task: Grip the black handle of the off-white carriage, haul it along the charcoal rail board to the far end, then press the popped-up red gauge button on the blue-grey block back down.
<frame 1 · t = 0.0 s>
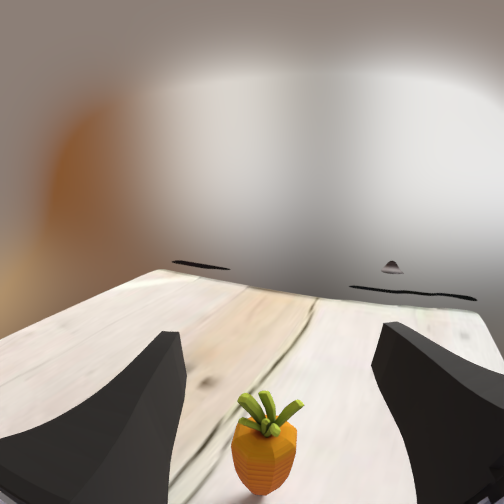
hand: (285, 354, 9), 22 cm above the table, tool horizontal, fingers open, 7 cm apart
carrot: (261, 493, 19), on the table
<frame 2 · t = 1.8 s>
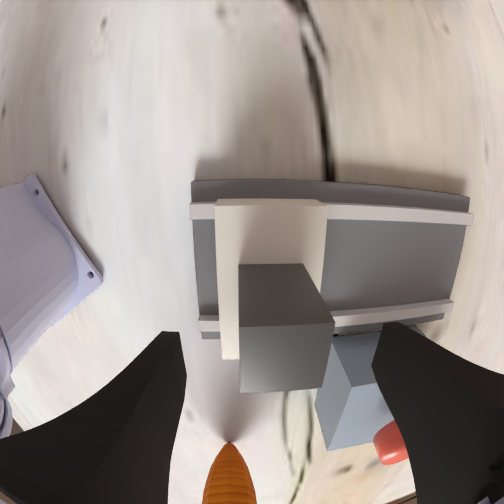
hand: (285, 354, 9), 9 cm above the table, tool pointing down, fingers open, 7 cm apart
carriage: (273, 308, 12), point 6 cm above the table, slide at 0.0 cm
gauge button: (401, 440, 13), point 8 cm above the table, slide at 1.5 cm
rail board: (347, 260, 17), on the table
blue-grey block: (365, 369, 21), on the table
carrot: (229, 441, 24), on the table
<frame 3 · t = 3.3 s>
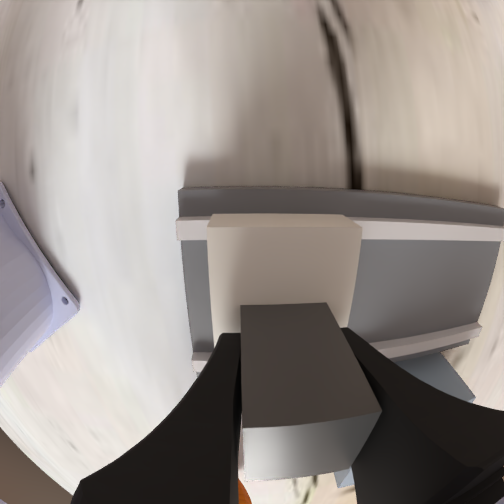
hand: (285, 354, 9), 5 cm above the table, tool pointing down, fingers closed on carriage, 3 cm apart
carriage: (287, 365, 9), point 6 cm above the table, slide at 0.0 cm, touching gripper
rail board: (372, 285, 14), on the table
blue-grey block: (382, 399, 17), on the table
carrot: (230, 470, 21), on the table
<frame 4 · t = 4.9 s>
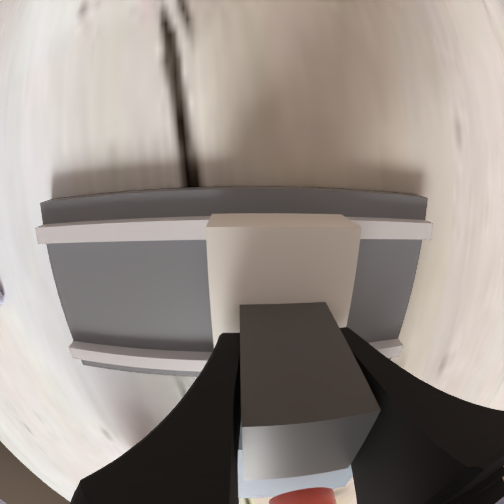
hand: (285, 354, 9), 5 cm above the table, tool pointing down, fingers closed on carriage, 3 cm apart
carriage: (286, 365, 9), point 5 cm above the table, slide at 7.4 cm, touching gripper
rail board: (230, 290, 14), on the table
blue-grey block: (286, 413, 17), on the table
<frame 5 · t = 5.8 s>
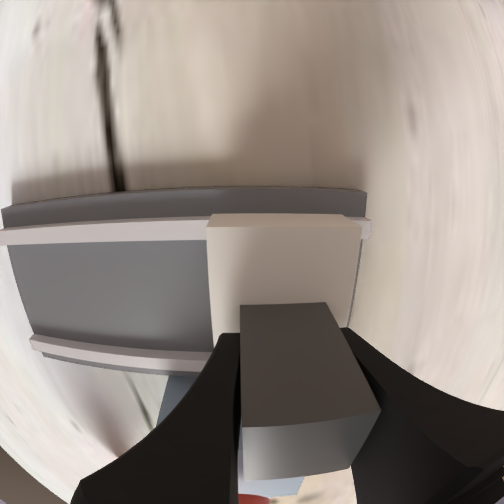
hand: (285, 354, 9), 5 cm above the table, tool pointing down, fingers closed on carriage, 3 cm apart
carriage: (287, 365, 9), point 6 cm above the table, slide at 11.0 cm, touching gripper
rail board: (160, 289, 14), on the table
blue-grey block: (236, 415, 17), on the table
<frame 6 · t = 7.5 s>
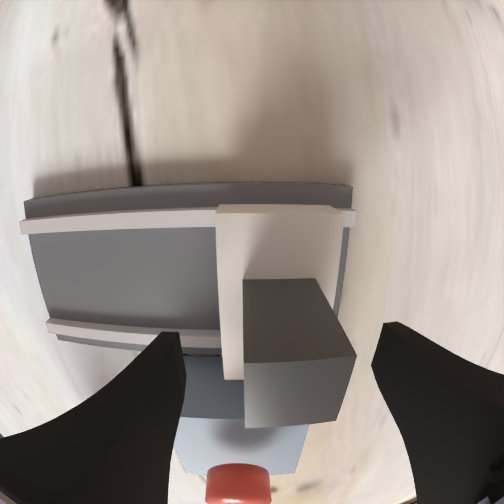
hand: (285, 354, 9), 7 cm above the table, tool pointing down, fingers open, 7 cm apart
carriage: (282, 330, 10), point 6 cm above the table, slide at 11.0 cm
gauge button: (238, 488, 11), point 8 cm above the table, slide at 1.5 cm
rail board: (171, 273, 15), on the table
blue-grey block: (237, 395, 19), on the table
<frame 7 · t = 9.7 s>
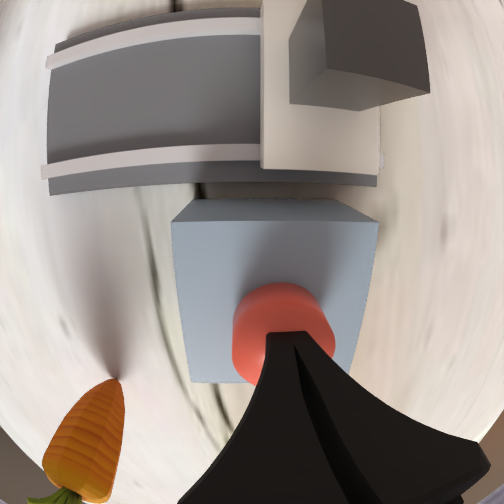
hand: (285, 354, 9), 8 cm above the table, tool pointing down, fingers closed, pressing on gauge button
carriage: (336, 64, 8), point 6 cm above the table, slide at 11.0 cm
gauge button: (281, 337, 10), point 7 cm above the table, slide at 0.3 cm, touching gripper
rail board: (201, 91, 13), on the table
blue-grey block: (265, 267, 16), on the table
carrot: (116, 378, 20), on the table
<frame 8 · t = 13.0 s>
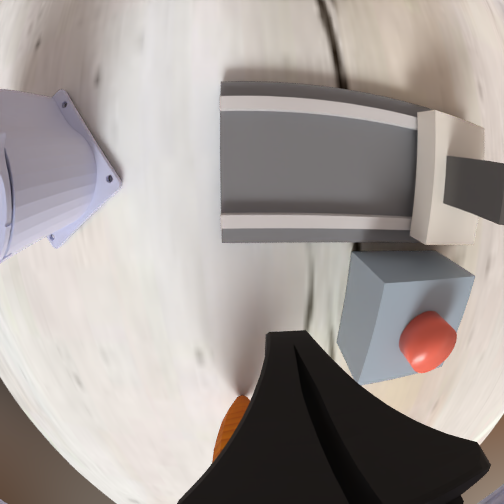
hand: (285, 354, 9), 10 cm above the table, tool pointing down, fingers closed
carriage: (475, 186, 12), point 5 cm above the table, slide at 11.0 cm
gauge button: (428, 342, 15), point 6 cm above the table, slide at -0.2 cm
rail board: (365, 167, 17), on the table
blue-grey block: (388, 297, 21), on the table
carrot: (242, 394, 24), on the table
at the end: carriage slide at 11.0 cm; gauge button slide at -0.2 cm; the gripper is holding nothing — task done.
